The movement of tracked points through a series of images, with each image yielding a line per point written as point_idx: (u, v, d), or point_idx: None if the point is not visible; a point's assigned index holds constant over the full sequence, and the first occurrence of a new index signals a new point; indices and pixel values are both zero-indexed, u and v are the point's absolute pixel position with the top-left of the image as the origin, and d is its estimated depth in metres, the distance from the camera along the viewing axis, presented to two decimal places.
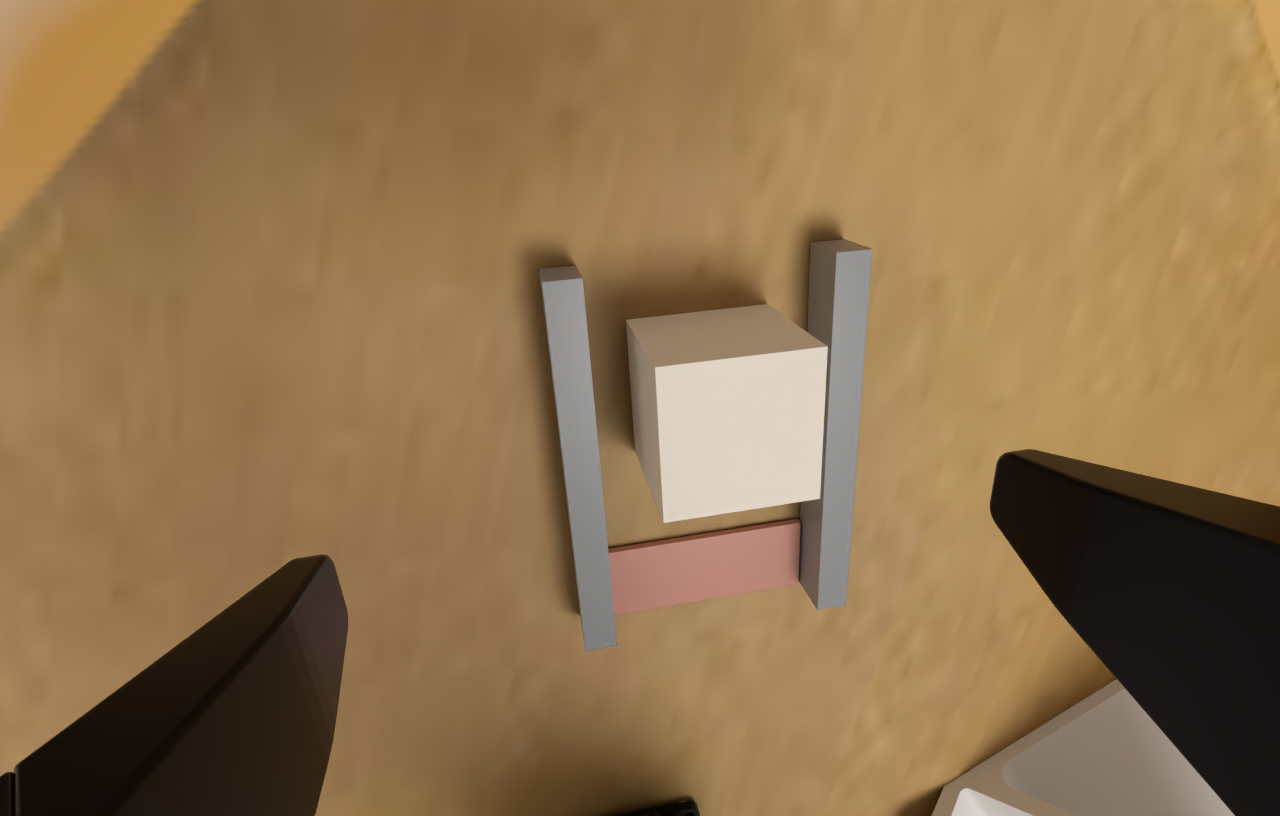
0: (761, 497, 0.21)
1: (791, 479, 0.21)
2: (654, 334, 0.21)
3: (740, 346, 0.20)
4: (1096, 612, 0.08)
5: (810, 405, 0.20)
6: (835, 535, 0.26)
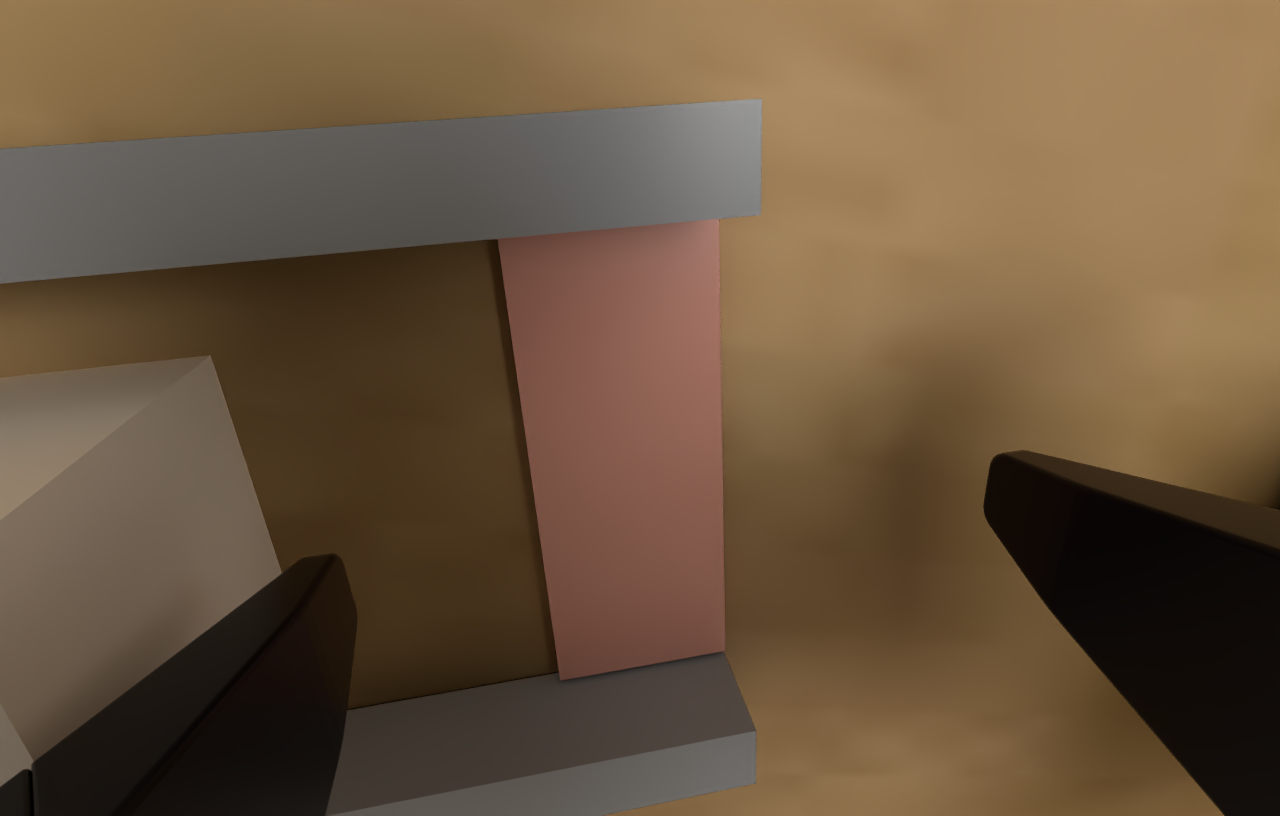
0: None
1: None
2: None
3: None
4: (1089, 613, 0.08)
5: None
6: (446, 187, 0.07)
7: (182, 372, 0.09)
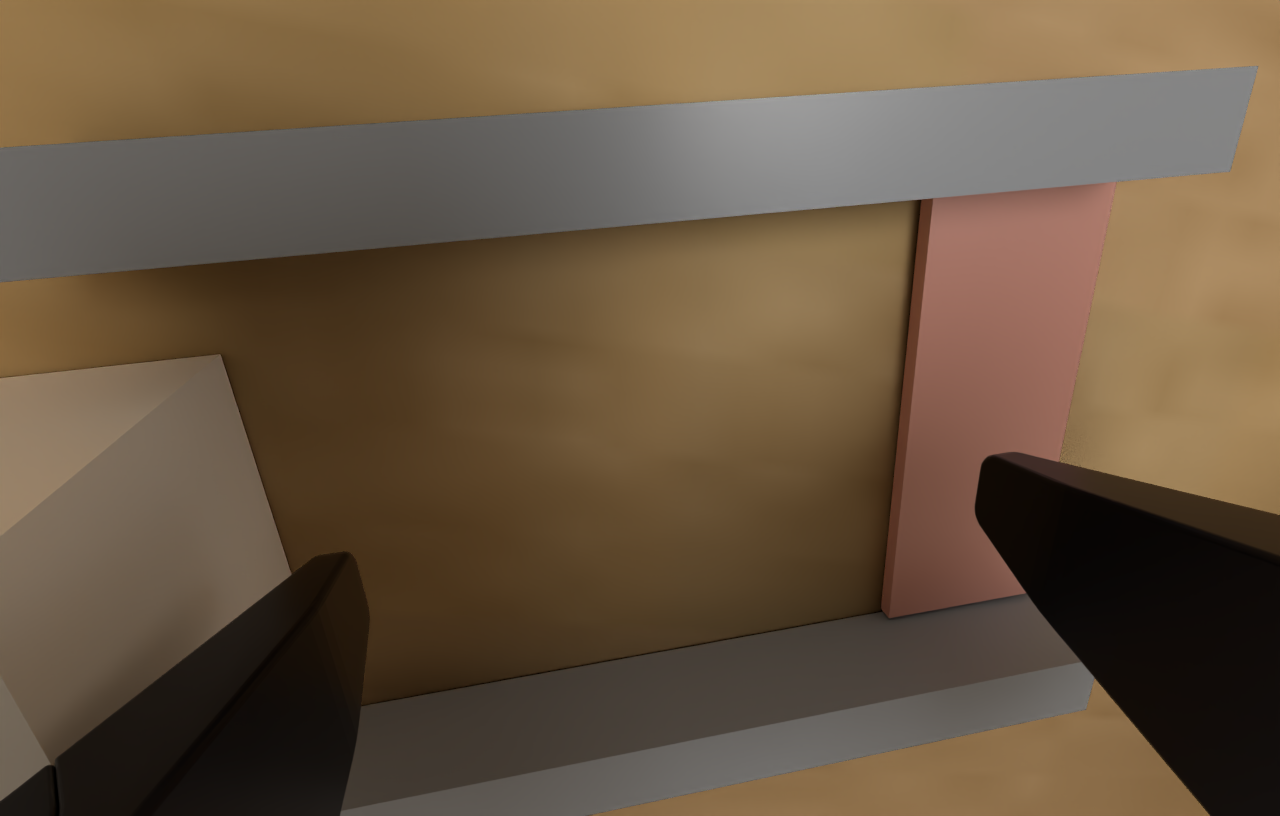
0: (8, 785, 0.05)
1: None
2: None
3: None
4: (1078, 615, 0.08)
5: None
6: (993, 143, 0.08)
7: (191, 372, 0.09)
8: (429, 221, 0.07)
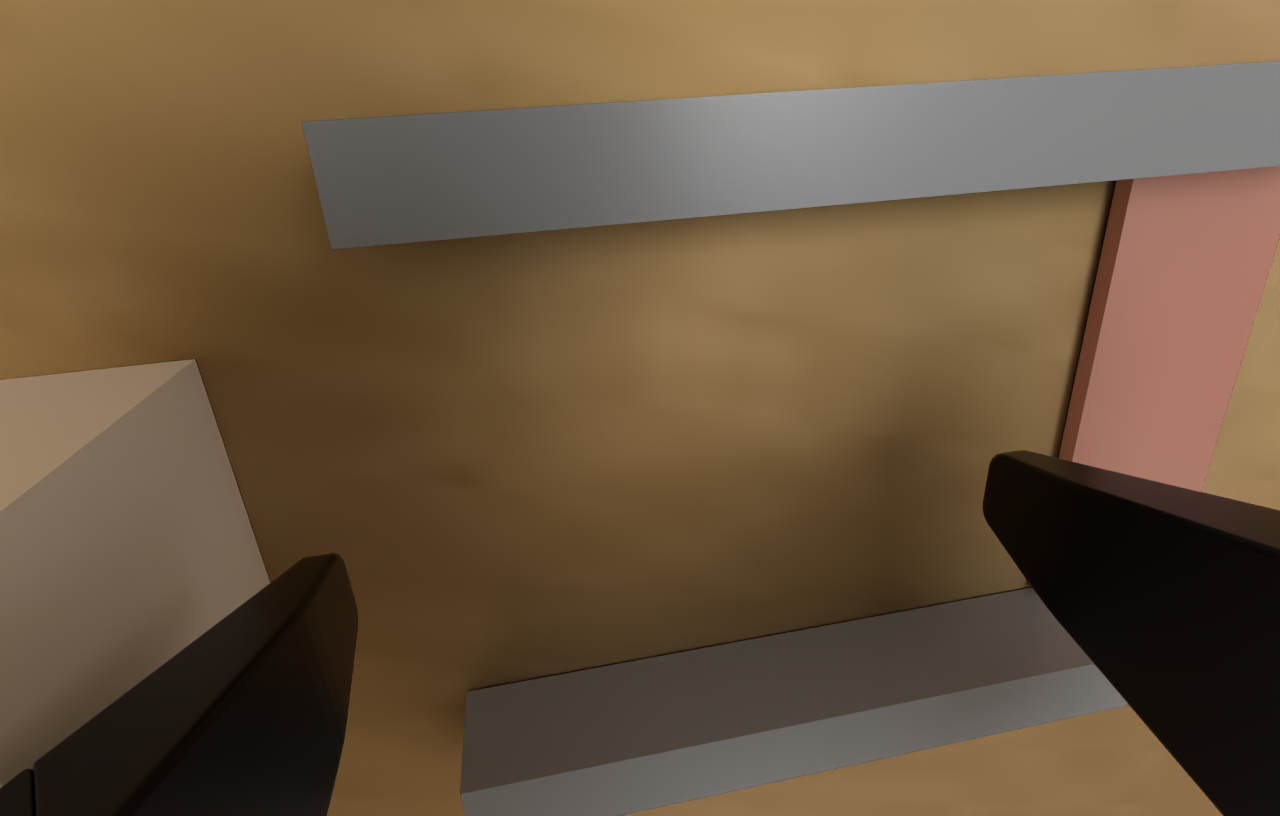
0: None
1: None
2: None
3: None
4: (1088, 613, 0.08)
5: None
6: (1239, 121, 0.08)
7: (163, 378, 0.08)
8: (725, 193, 0.07)
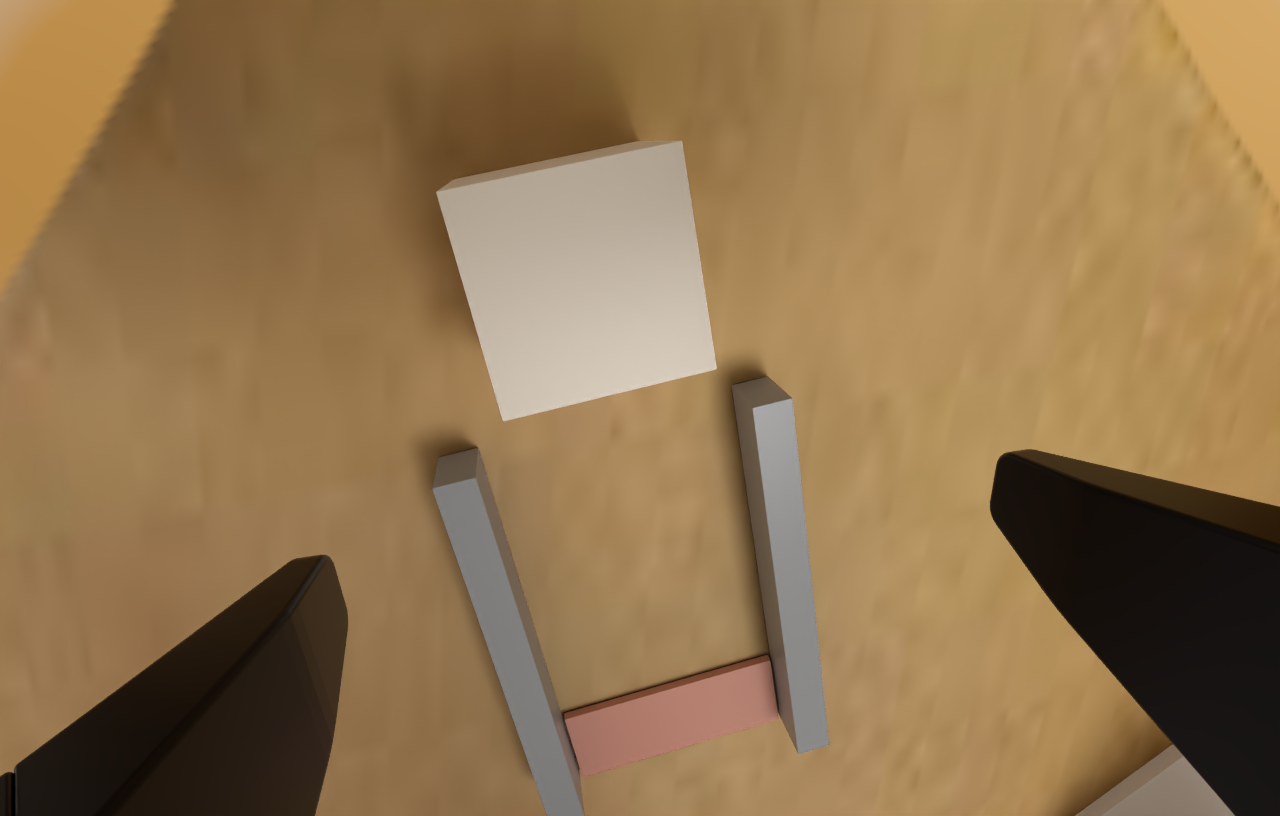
0: (633, 374, 0.15)
1: (670, 344, 0.15)
2: (472, 178, 0.16)
3: (567, 162, 0.14)
4: (1096, 612, 0.08)
5: (675, 232, 0.14)
6: (804, 680, 0.24)
7: None
8: (775, 527, 0.21)
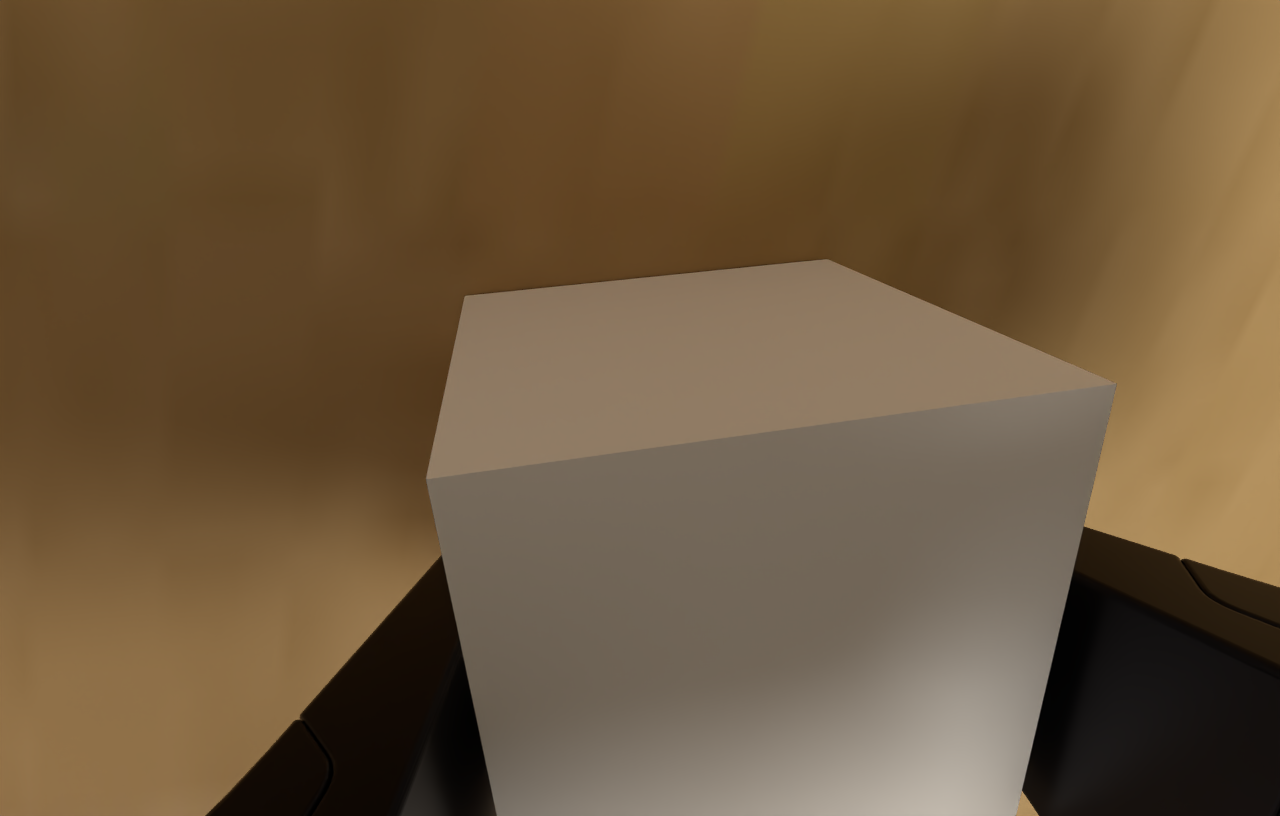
0: None
1: (935, 796, 0.07)
2: (512, 336, 0.07)
3: (779, 379, 0.06)
4: None
5: (1024, 586, 0.06)
6: None
7: None
8: None
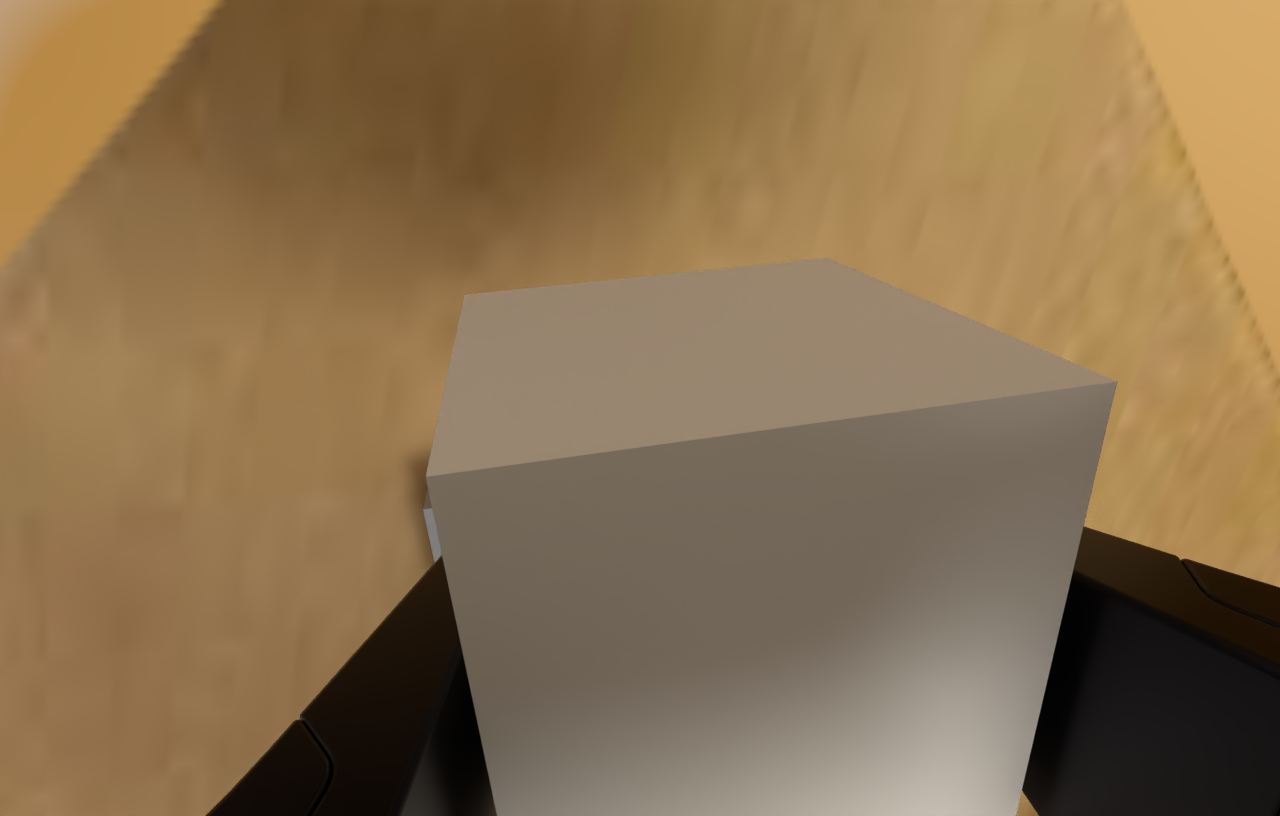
0: None
1: (935, 795, 0.07)
2: (511, 335, 0.07)
3: (779, 378, 0.06)
4: None
5: (1024, 584, 0.06)
6: None
7: None
8: None
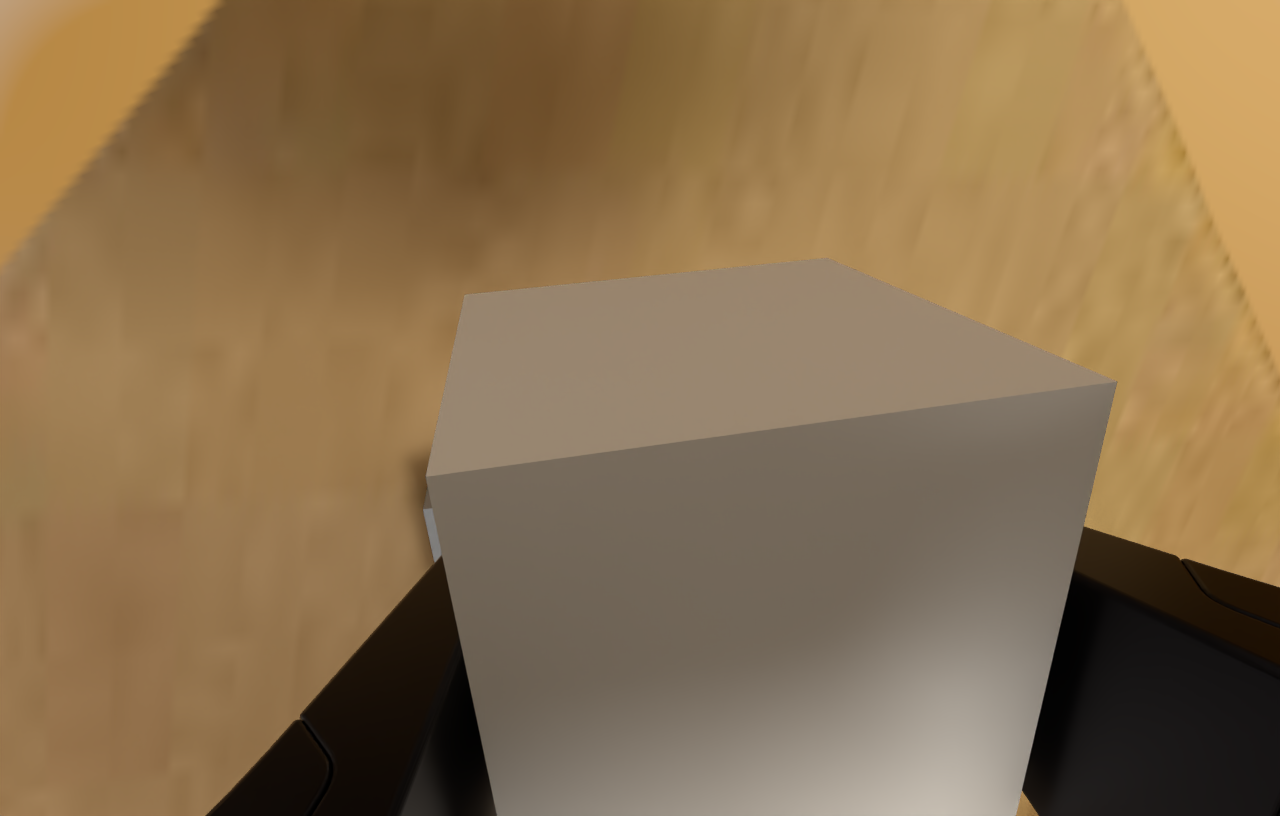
0: None
1: (935, 795, 0.07)
2: (511, 335, 0.07)
3: (779, 378, 0.06)
4: None
5: (1024, 584, 0.06)
6: None
7: None
8: None
